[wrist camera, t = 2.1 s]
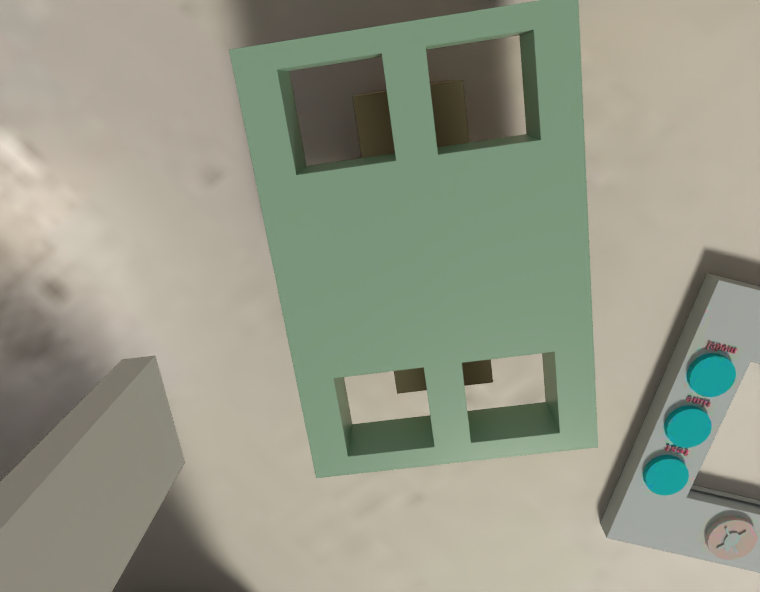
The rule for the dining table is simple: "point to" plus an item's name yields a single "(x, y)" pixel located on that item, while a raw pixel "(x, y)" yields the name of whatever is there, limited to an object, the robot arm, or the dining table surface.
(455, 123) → the brown rectangular block
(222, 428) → the dining table surface
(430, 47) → the board
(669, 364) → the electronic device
